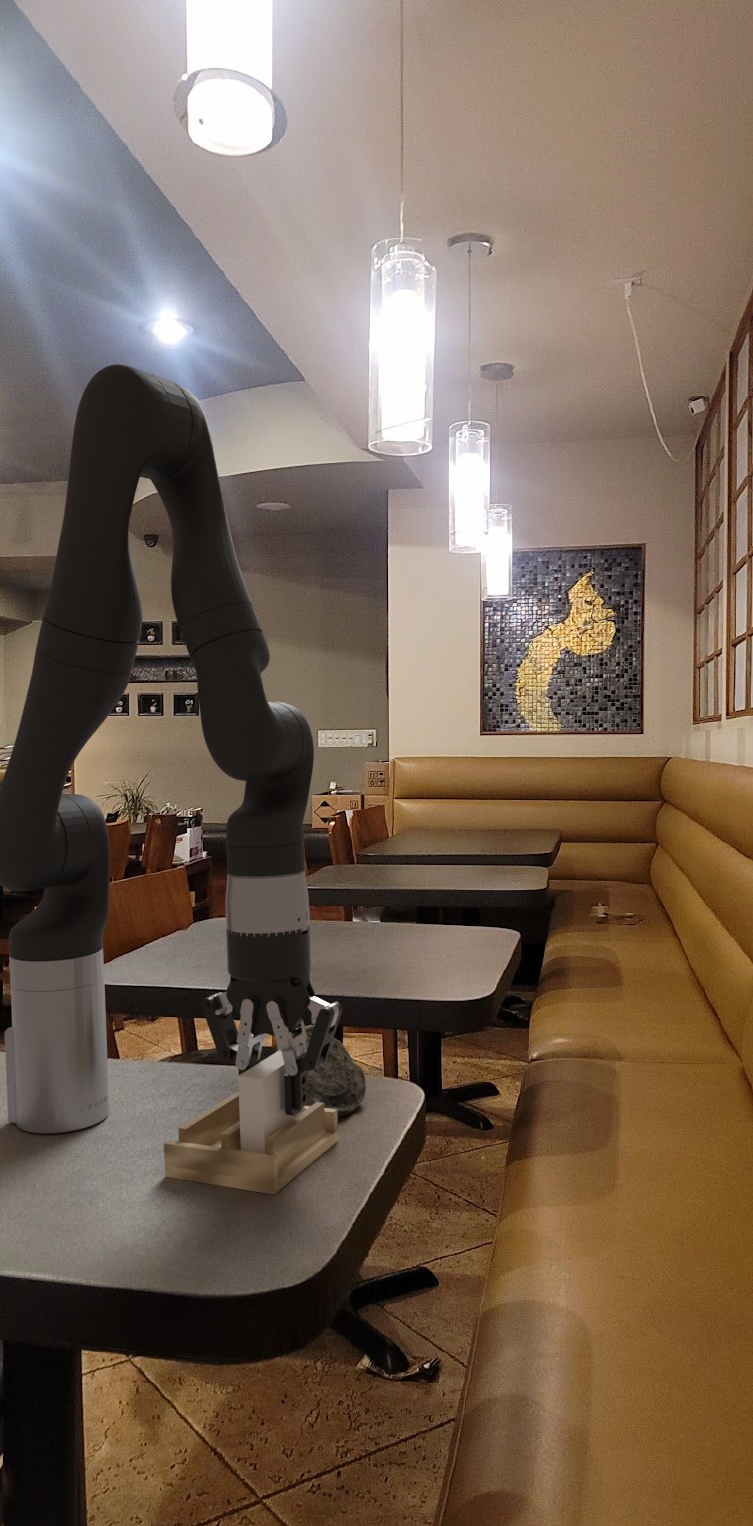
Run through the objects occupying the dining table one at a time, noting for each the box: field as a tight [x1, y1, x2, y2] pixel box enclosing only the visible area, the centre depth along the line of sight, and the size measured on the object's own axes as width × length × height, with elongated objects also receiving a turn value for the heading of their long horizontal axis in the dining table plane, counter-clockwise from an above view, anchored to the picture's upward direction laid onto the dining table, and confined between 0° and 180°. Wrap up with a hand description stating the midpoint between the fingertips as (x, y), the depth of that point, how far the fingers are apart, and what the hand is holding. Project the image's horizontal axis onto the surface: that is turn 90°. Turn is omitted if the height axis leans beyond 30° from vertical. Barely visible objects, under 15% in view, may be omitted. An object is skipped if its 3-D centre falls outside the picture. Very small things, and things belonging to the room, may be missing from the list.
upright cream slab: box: [237, 1051, 305, 1154], centre depth 98 cm, size 2×8×8 cm, turn 158°
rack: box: [163, 1091, 339, 1195], centre depth 99 cm, size 11×13×4 cm
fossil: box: [274, 1024, 367, 1119], centre depth 112 cm, size 11×9×10 cm
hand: (274, 1108), depth 98 cm, fingers open, 3 cm apart
